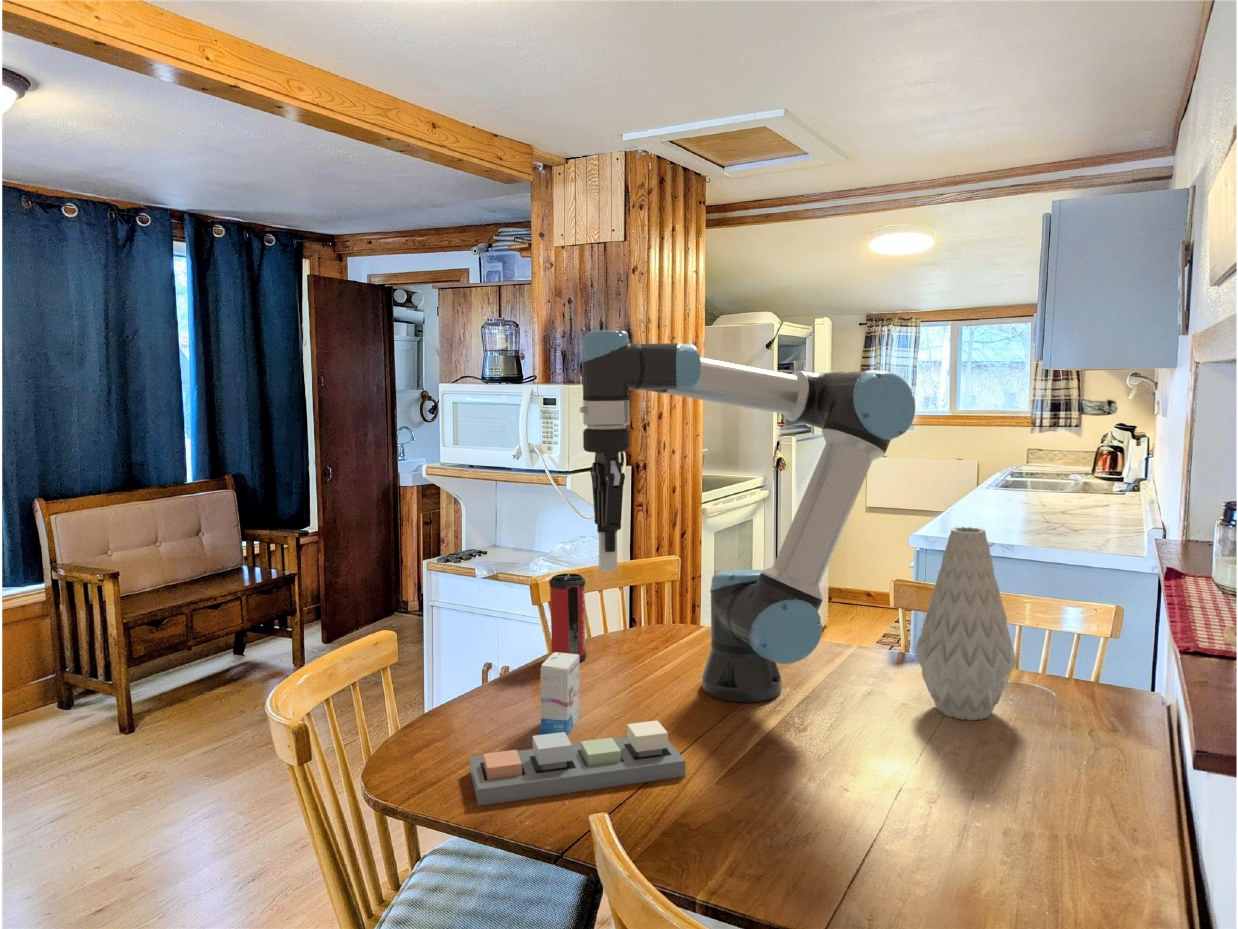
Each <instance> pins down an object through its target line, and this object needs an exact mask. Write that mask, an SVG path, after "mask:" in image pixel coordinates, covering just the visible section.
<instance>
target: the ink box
mask: <svg viewBox="0 0 1238 929" xmlns="http://www.w3.org/2000/svg"><path fill="white" fill-rule="evenodd" d="M551 653H552V652H551ZM579 718H580V661H579V655H578V654H568V653H558V652H554V653H552V655H551V654H550V656H549V657H547V658H546V659H545V661H544V662H542V664H541V667H540V735H544V734H552V733H560V732H565V733H566V735H567V736H568V735H569V733H570V732H571V731H572V728H573V727H574V725H575V724H576V722H577V721H578V719H579Z"/></svg>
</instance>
